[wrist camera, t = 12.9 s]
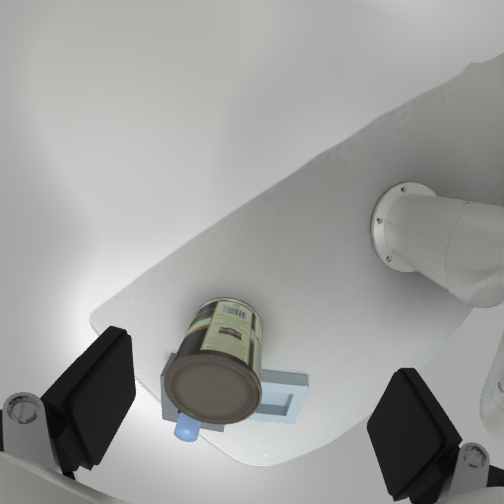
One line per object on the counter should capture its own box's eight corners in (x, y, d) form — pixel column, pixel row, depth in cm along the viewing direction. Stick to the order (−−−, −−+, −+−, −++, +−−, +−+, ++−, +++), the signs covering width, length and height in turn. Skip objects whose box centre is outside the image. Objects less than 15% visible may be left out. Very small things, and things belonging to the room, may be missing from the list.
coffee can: (200, 359, 41) (177, 423, 27) (186, 300, 39) (151, 354, 25) (266, 356, 40) (266, 424, 27) (259, 294, 38) (256, 352, 24)
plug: (211, 377, 42) (197, 430, 30) (210, 391, 42) (197, 443, 31) (192, 374, 42) (173, 425, 30) (191, 387, 42) (174, 438, 31)
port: (234, 365, 41) (230, 390, 35) (227, 407, 43) (223, 432, 37) (172, 353, 41) (160, 375, 35) (171, 396, 43) (162, 419, 37)
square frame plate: (306, 374, 41) (308, 386, 38) (293, 412, 43) (294, 423, 40) (250, 368, 41) (249, 379, 38) (242, 406, 43) (241, 418, 40)
